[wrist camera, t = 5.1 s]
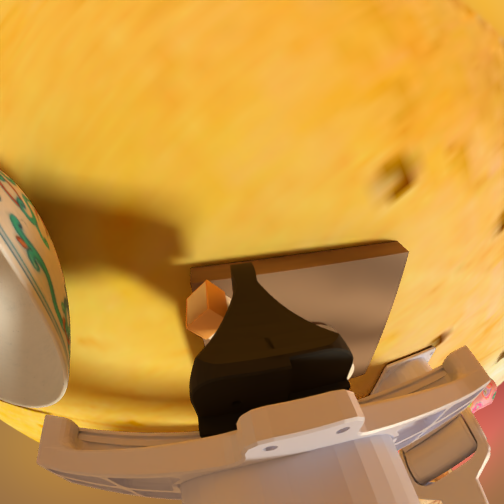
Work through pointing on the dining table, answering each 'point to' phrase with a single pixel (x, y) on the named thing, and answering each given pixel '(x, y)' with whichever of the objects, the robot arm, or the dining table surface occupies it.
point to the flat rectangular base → (329, 290)
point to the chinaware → (30, 306)
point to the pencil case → (484, 397)
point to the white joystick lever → (213, 312)
